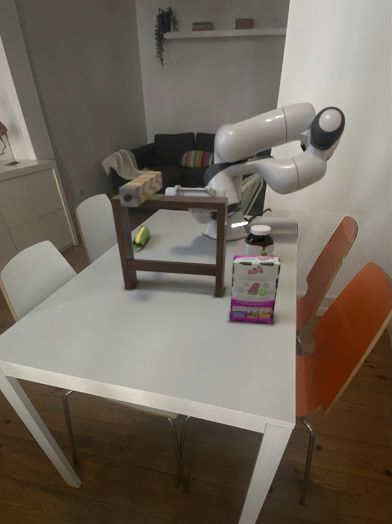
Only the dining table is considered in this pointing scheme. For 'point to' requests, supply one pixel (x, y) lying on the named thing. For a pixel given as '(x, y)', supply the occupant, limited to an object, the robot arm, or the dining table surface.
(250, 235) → the spread jar
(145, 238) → the edible corn
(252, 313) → the candy bar box
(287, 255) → the dining table surface
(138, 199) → the light wood square bar
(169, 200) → the dark brown wooden frame
